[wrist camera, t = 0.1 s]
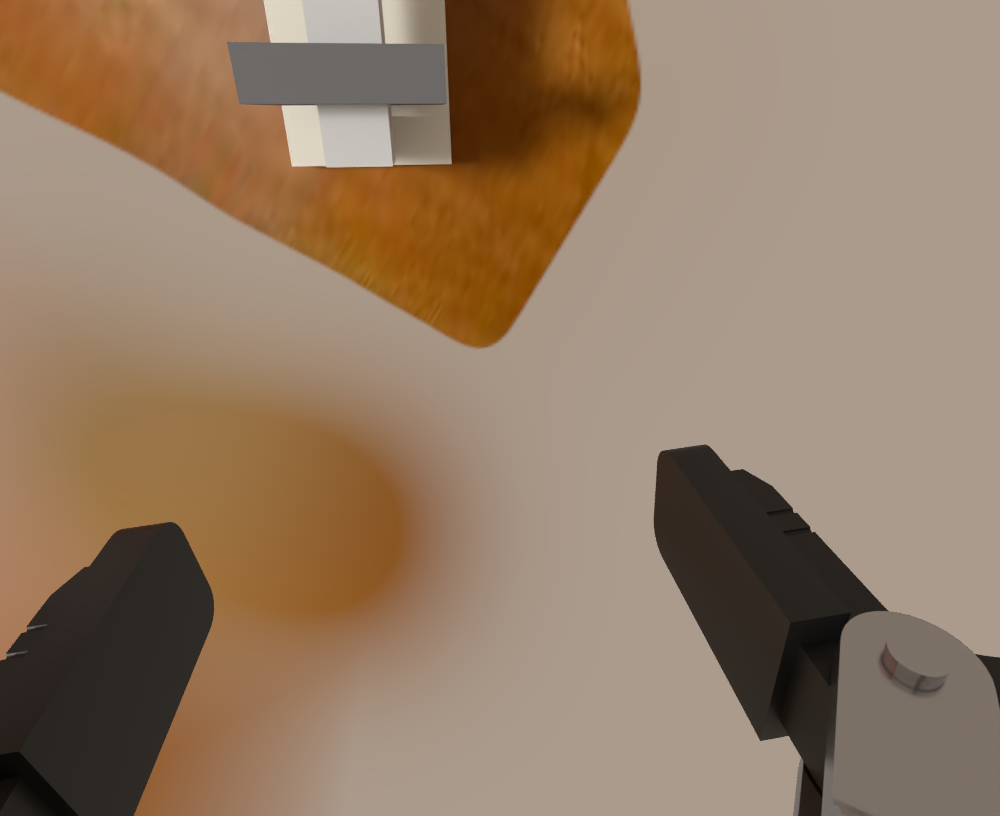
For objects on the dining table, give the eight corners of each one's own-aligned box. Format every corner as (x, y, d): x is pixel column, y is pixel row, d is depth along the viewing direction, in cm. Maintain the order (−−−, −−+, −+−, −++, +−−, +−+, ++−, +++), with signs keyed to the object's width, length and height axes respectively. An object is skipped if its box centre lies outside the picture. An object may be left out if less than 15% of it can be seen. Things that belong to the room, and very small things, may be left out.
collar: (277, 59, 27) (227, 42, 20) (438, 60, 28) (443, 43, 21) (285, 105, 28) (239, 104, 21) (440, 104, 29) (446, 103, 22)
